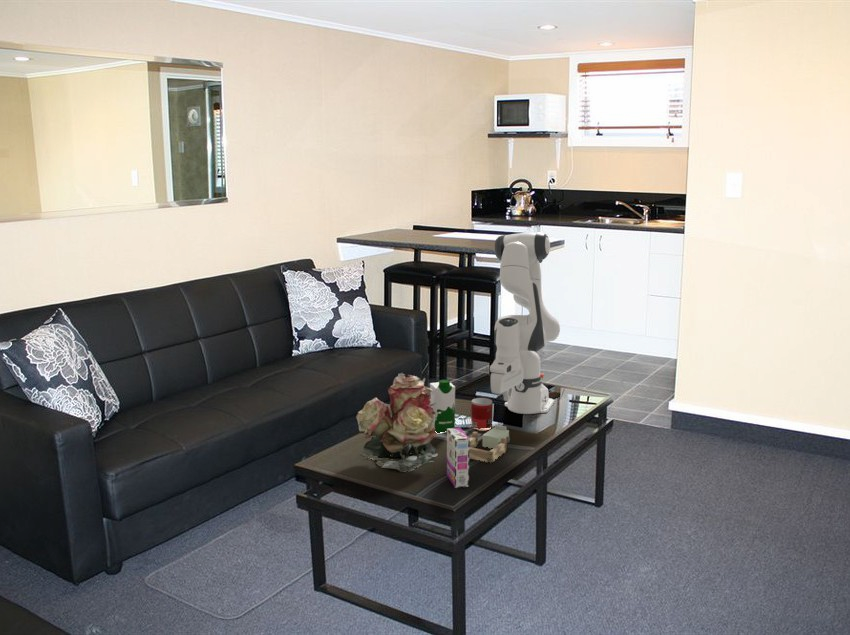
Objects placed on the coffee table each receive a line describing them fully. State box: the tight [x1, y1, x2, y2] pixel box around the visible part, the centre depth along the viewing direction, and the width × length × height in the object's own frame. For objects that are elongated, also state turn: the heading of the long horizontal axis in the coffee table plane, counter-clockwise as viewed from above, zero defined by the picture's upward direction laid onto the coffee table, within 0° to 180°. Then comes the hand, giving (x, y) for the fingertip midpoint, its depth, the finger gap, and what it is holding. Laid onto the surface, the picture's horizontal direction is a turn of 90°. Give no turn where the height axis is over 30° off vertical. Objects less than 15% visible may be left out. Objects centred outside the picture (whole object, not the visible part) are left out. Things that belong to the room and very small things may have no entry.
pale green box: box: [481, 424, 511, 449], centre depth 294 cm, size 9×7×6 cm
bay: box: [469, 431, 508, 464], centre depth 285 cm, size 12×13×5 cm
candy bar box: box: [446, 427, 470, 489], centre depth 261 cm, size 11×5×16 cm, turn 13°
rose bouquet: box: [355, 372, 439, 473], centre depth 280 cm, size 26×29×30 cm
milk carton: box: [429, 379, 456, 433], centre depth 307 cm, size 9×9×20 cm
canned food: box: [470, 397, 493, 428], centre depth 309 cm, size 8×8×11 cm
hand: (507, 399), depth 299 cm, fingers closed
